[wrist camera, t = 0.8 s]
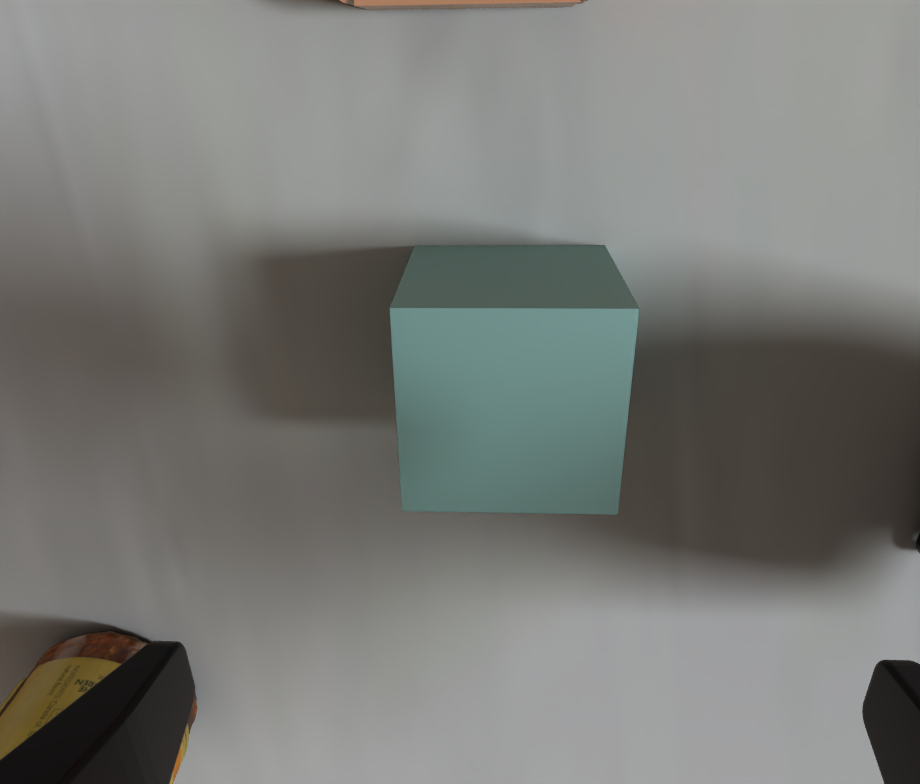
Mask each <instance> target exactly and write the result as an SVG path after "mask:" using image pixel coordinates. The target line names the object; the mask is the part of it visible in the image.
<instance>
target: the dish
mask: <svg viewBox="0 0 920 784" xmlns="http://www.w3.org/2000/svg"><path fill="white" fill-rule="evenodd" d="M340 1H341V2H343V3H346V4H349V5H353V6H356V7H360V8H364V9H368V10H407V9H467V8H527V7H572V6H574V5H576V4H578V3H580V4H581V3H583V2H585V1H587V0H340Z"/></svg>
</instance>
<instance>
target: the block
mask: <svg viewBox="0 0 920 784" xmlns="http://www.w3.org/2000/svg"><path fill="white" fill-rule="evenodd" d="M638 316H639V307H638V305H637V304H636V302H635V300H634V298H633V296H632V294H631V293H630V291H629V289H628V287H627V285H626V283H625V281H624V280H623V278H622V276H621V274H620V272H619V270H618V269H617V267H616V265H615V263H614V261H613V259H612V257H611V256H610V254H609V252H608V250H607V248H606V246H605V245H574V246H414V248H413V251H412V253H411V256H410V258H409V261H408V263H407V266H406V268H405V271H404V273H403V276H402V278H401V281H400V283H399V286H398V288H397V291H396V293H395V296H394V298H393V301H392V303H391V306H390V324H391V340H392V357H393V374H394V390H395V407H396V423H397V440H398V457H399V473H400V490H401V506H402V511H420V512H481V513H543V514H604V515H618V507H619V498H620V488H621V479H622V469H623V460H624V450H625V441H626V431H627V421H628V412H629V402H630V393H631V383H632V374H633V364H634V355H635V345H636V336H637V326H638Z"/></svg>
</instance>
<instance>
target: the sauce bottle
mask: <svg viewBox="0 0 920 784" xmlns="http://www.w3.org/2000/svg"><path fill="white" fill-rule="evenodd" d="M146 644H148V643H146V642H143V641H140V640H139V639H138V638H136V637H134V636H129V635H124V634H120V633H115V632H112V631H107V632H96V633H89V634H85V635H81V636H78V637H74V638H70V639H68V640H66V641H61V642H60V643H59V644H56V645H54V646H52V647H51V648H50V649H49V650H48V651H47V652H46V653H45V654H44V655H43V656H42V657H41V659H40V660H39V661H38V662H37V664H36V666H35V668H34V669H33V670H32V672H31V673H30V674H29V676H28V677H27V678H24V679H22V680H21V681H20V682H19V683H18V684H17V686H16V687H15V688H14V690H13V691H12V692H11V694H10V695H9V696H8V697H7V699H6V700H5V701H4V703H3V704H2V705H1V707H0V759H2V758H3V757H4V756H5V755H7V754H8V753H9V752H11V751H12V750H13V749H14V748H16V747H17V746H18V745H19V744H21V743H22V742H23V741H25V740H26V739H27V738H28V737H30V736H31V735H32V734H33V733H35V732H36V731H37V730H38V729H40V728H41V727H42V726H44V725H45V724H46V723H47V722H49V721H50V720H51V719H52V718H54V717H55V716H56V715H57V714H59V713H60V712H61V711H63V710H64V709H65V708H66V707H68V706H69V705H70V704H71V703H73V702H74V701H75V700H76V699H78V698H79V697H80V696H82V695H83V694H84V693H85V692H87V691H88V690H89V689H90V688H92V687H93V686H94V685H95V684H97V683H98V682H99V681H101V680H102V679H103V678H104V677H106V676H107V675H108V674H109V673H111V672H112V671H113V670H114V669H116V668H117V667H118V666H120V665H121V664H122V663H123V662H125V661H126V660H127V659H128V658H130V657H131V656H132V655H133V654H135V653H136V652H137V651H139V650H140V649H141V648H142V647H144V646H145V645H146ZM196 712H197V705H196V695H195V697H194V703H193V706H192V710H191V713H190V717H189V720H188V723H187V727H186V730H185V733H184V737H183V740H182V743H181V747H180V750H179V753H178V757H177V760H176V764H175V767H174V770H173V774H172V777H171V780H170V784H173V782H174V779H175V777H176V774H177V772H178V770H179V767H180V765H181V762H182V760H183V757H184V755H185V752H186V750H187V746H188V738H189V733H190V729H191V726H192V724H193V722H194V720H195V717H196Z"/></svg>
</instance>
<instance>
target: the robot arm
mask: <svg viewBox="0 0 920 784" xmlns="http://www.w3.org/2000/svg"><path fill="white" fill-rule="evenodd" d="M916 548H917V550H918V552H919V553H920V534H919V537H918V539H917V542H916ZM194 697H195V684H194V680H193V676H192V672H191V668H190V665H189V661H188V657H187V653H186V650H185V647H184V646H183V644H182V643H180V642H174V641H153V642H150V643H148V644H146V645H145V646H144V647H142V648H141V649H140V650H139V651H137V652H136V653H135V654H133V655H132V656H131V657H130V658H128V659H127V660H126V661H125V662H123V663H122V664H121V665H120V666H118V667H117V668H116V669H114V670H113V671H112V672H111V673H109V674H108V675H107V676H106V677H104V678H103V679H102V680H101V681H99V682H98V683H97V684H95V685H94V686H93V687H92V688H90V689H89V690H88V691H87V692H85V693H84V694H83V695H82V696H80V697H79V698H78V699H76V700H75V701H74V702H73V703H71V704H70V705H69V706H68V707H66V708H65V709H64V710H63V711H61V712H60V713H59V714H57V715H56V716H55V717H54V718H52V719H51V720H50V721H49V722H47V723H46V724H45V725H44V726H42V727H41V728H40V729H38V730H37V731H36V732H35V733H33V734H32V735H31V736H30V737H28V738H27V739H26V740H25V741H23V742H22V743H21V744H19V745H18V746H17V747H16V748H14V749H13V750H12V751H11V752H9V753H8V754H7V755H5V756H4V757H3V758H2V759H0V784H170V780H171V777H172V774H173V770H174V767H175V764H176V760H177V757H178V753H179V750H180V747H181V743H182V740H183V737H184V733H185V730H186V727H187V723H188V720H189V717H190V713H191V710H192V706H193V703H194ZM862 712H863V720H864V724H865V728H866V731H867V734H868V736H869V739H870V742H871V745H872V748H873V751H874V754H875V757H876V760H877V763H878V766H879V769H880V772H881V775H882V778H883V781H884V784H920V664H918V663H916V662H914V661H909V660H882V661H880V662H879V663H878V664H876V666H875V669H874V672H873V675H872V678H871V681H870V684H869V687H868V690H867V693H866V696H865V699H864V702H863V710H862Z"/></svg>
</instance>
